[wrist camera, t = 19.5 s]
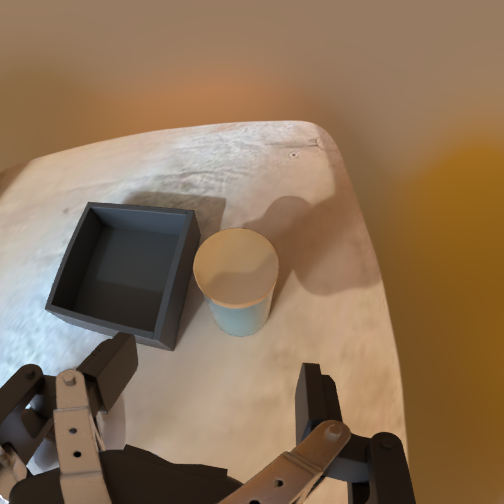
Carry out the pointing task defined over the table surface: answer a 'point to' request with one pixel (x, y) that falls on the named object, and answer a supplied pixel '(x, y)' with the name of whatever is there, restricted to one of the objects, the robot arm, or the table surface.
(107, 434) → the table surface
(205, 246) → the spice jar
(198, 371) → the table surface
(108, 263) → the bin
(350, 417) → the table surface
